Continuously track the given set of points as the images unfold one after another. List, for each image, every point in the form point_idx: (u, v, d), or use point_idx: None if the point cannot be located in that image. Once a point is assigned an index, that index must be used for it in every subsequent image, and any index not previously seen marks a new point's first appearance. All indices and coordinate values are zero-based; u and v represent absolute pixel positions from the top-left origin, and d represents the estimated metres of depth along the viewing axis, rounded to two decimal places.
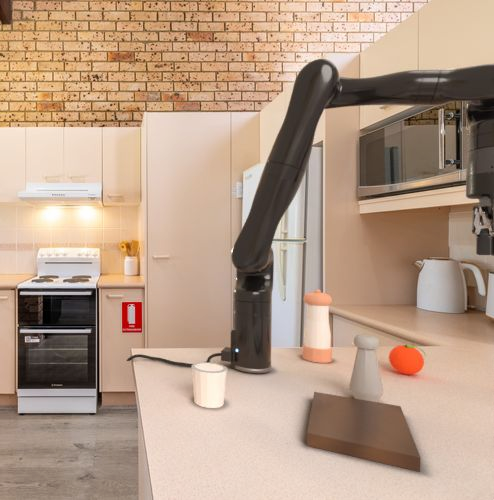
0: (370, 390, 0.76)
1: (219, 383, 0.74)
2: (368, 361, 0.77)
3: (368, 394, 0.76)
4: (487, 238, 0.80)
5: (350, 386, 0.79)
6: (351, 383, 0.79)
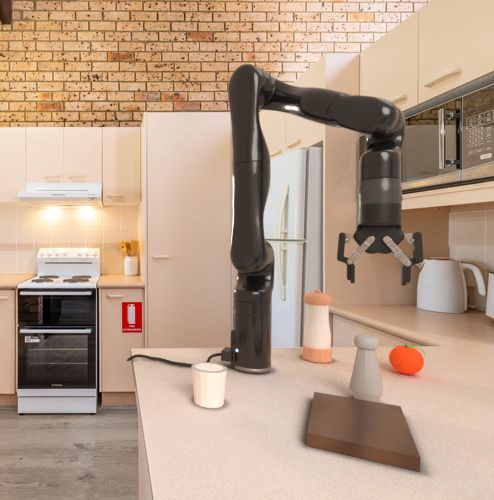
0: (370, 390, 0.76)
1: (219, 383, 0.74)
2: (368, 361, 0.77)
3: (368, 394, 0.76)
4: (402, 267, 0.76)
5: (350, 386, 0.79)
6: (351, 383, 0.79)
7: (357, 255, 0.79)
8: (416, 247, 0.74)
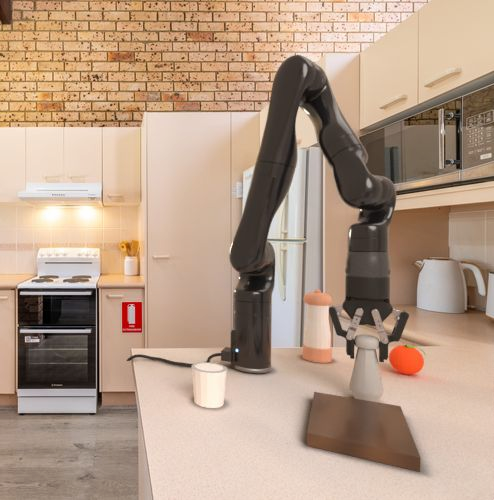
0: (370, 390, 0.76)
1: (219, 383, 0.74)
2: (368, 361, 0.77)
3: (368, 394, 0.76)
4: (379, 344, 0.77)
5: (350, 386, 0.79)
6: (351, 383, 0.79)
7: (353, 329, 0.78)
8: (398, 325, 0.75)
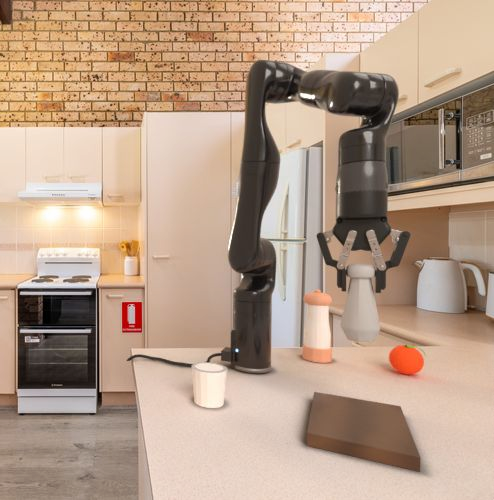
0: (365, 325, 0.64)
1: (219, 383, 0.74)
2: (362, 291, 0.65)
3: (362, 330, 0.64)
4: (375, 272, 0.65)
5: (342, 324, 0.67)
6: (343, 320, 0.67)
7: (345, 256, 0.67)
8: (397, 248, 0.63)
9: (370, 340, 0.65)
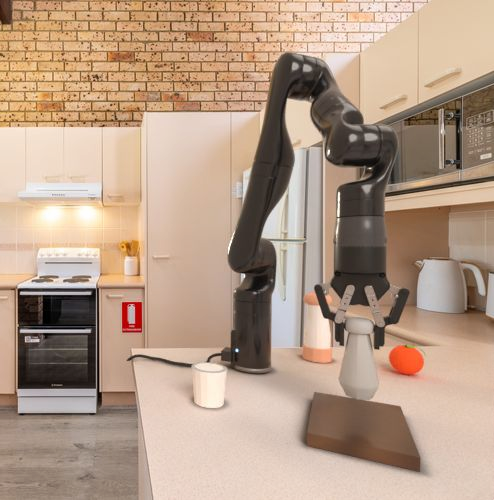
0: (363, 383, 0.63)
1: (219, 383, 0.74)
2: (361, 348, 0.64)
3: (360, 388, 0.63)
4: (374, 328, 0.64)
5: (340, 379, 0.66)
6: (341, 375, 0.66)
7: (343, 310, 0.65)
8: (396, 305, 0.62)
9: (368, 398, 0.63)
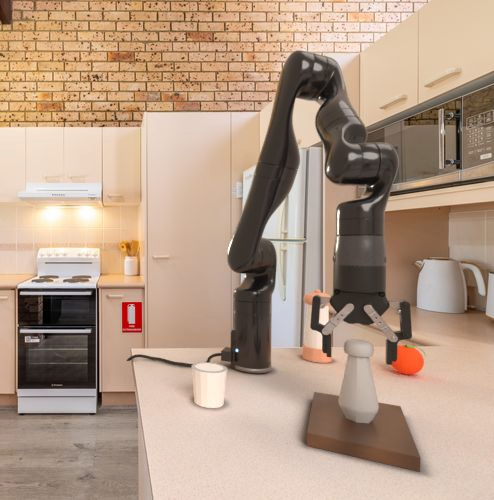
0: (363, 406, 0.63)
1: (219, 383, 0.74)
2: (360, 371, 0.64)
3: (360, 411, 0.63)
4: (386, 342, 0.63)
5: (339, 401, 0.66)
6: (340, 397, 0.66)
7: (333, 324, 0.66)
8: (403, 319, 0.61)
9: (368, 421, 0.63)
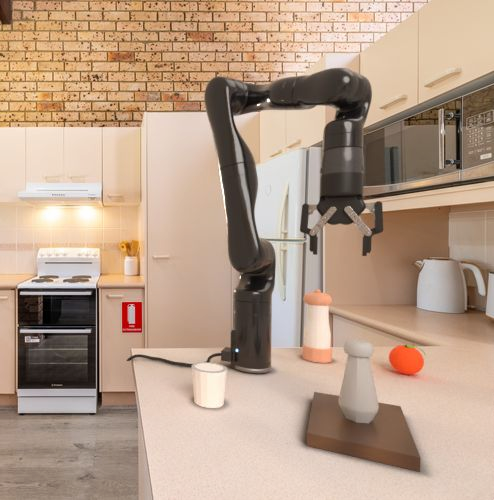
0: (363, 406, 0.63)
1: (219, 383, 0.74)
2: (360, 371, 0.64)
3: (360, 411, 0.63)
4: (363, 238, 0.75)
5: (339, 401, 0.66)
6: (340, 397, 0.66)
7: (319, 226, 0.78)
8: (376, 216, 0.74)
9: (368, 421, 0.63)
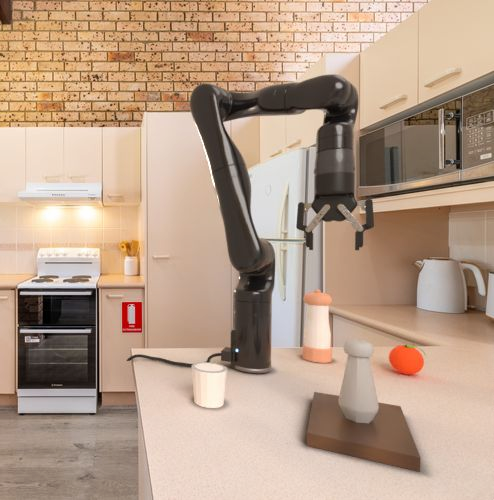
0: (363, 406, 0.63)
1: (219, 383, 0.74)
2: (360, 371, 0.64)
3: (360, 411, 0.63)
4: (355, 233, 0.80)
5: (339, 401, 0.66)
6: (340, 397, 0.66)
7: (314, 223, 0.83)
8: (367, 213, 0.79)
9: (368, 421, 0.63)
